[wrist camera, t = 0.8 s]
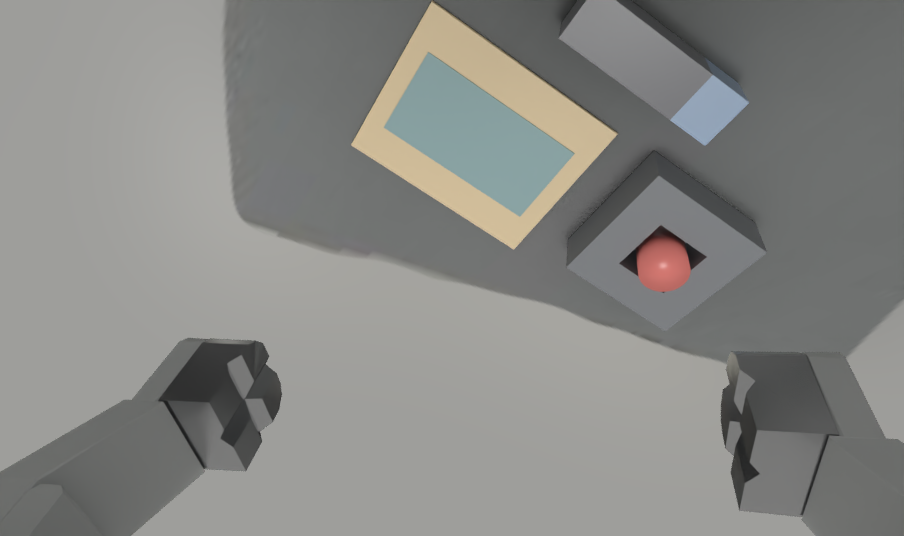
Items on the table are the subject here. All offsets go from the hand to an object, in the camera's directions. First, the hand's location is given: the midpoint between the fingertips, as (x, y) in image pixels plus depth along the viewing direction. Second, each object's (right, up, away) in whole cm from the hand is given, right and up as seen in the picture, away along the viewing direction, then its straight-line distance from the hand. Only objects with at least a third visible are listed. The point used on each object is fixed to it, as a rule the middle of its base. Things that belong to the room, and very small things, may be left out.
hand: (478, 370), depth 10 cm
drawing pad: (+2, +12, +35) cm, 37 cm away
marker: (+13, +16, +29) cm, 36 cm away
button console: (+16, +5, +37) cm, 41 cm away
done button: (+16, +3, +35) cm, 39 cm away
